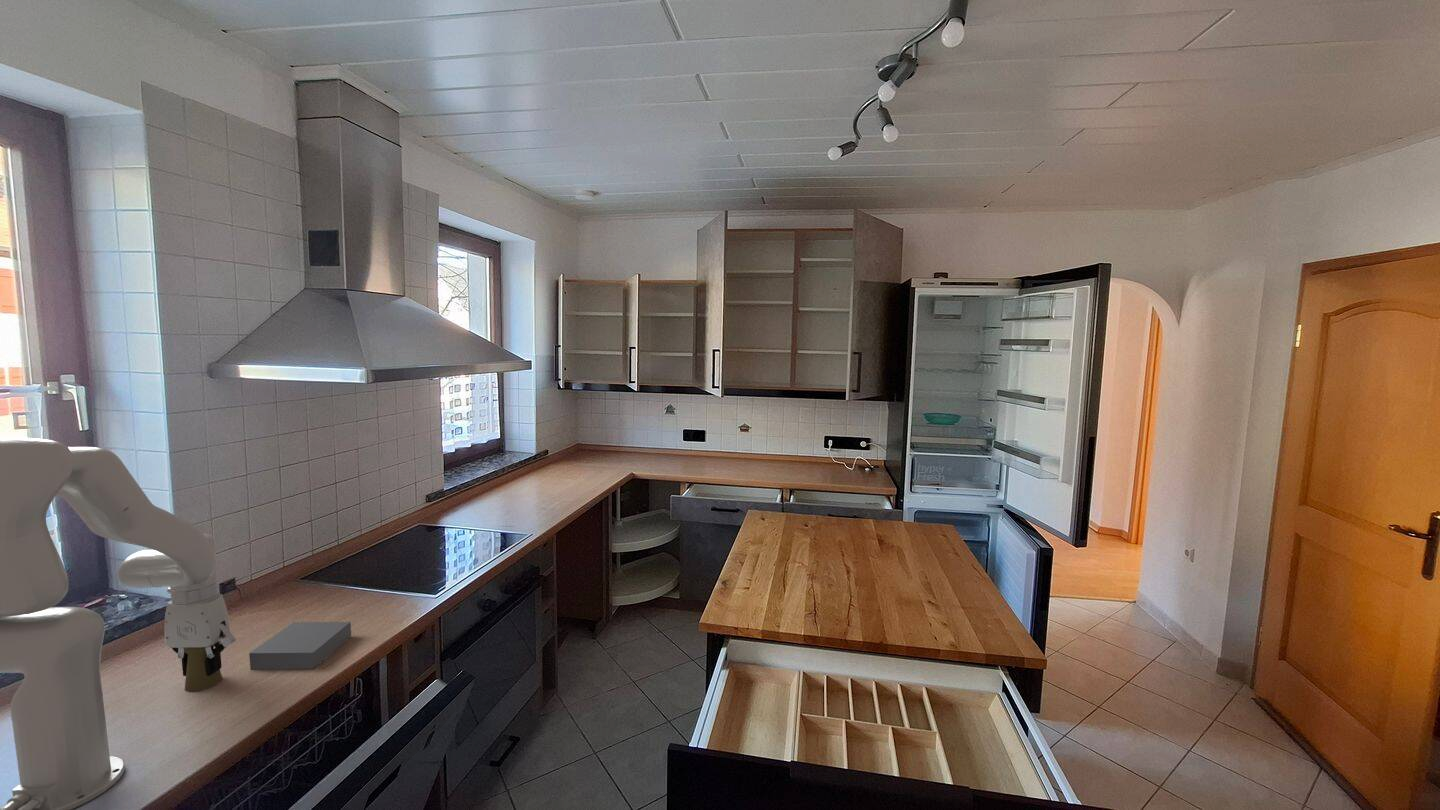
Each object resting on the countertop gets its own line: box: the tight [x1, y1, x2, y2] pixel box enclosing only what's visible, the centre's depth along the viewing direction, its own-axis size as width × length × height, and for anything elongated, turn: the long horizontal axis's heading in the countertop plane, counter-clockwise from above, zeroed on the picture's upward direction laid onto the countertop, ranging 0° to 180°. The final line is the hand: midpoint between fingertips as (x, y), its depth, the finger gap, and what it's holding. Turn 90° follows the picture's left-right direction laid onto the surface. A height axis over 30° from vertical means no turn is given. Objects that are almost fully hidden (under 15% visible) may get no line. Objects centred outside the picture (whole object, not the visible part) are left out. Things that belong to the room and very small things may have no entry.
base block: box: [248, 621, 352, 671], centre depth 133 cm, size 14×14×4 cm
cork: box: [184, 644, 223, 693], centre depth 120 cm, size 6×6×11 cm
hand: (202, 671), depth 120 cm, fingers closed on cork, 4 cm apart
